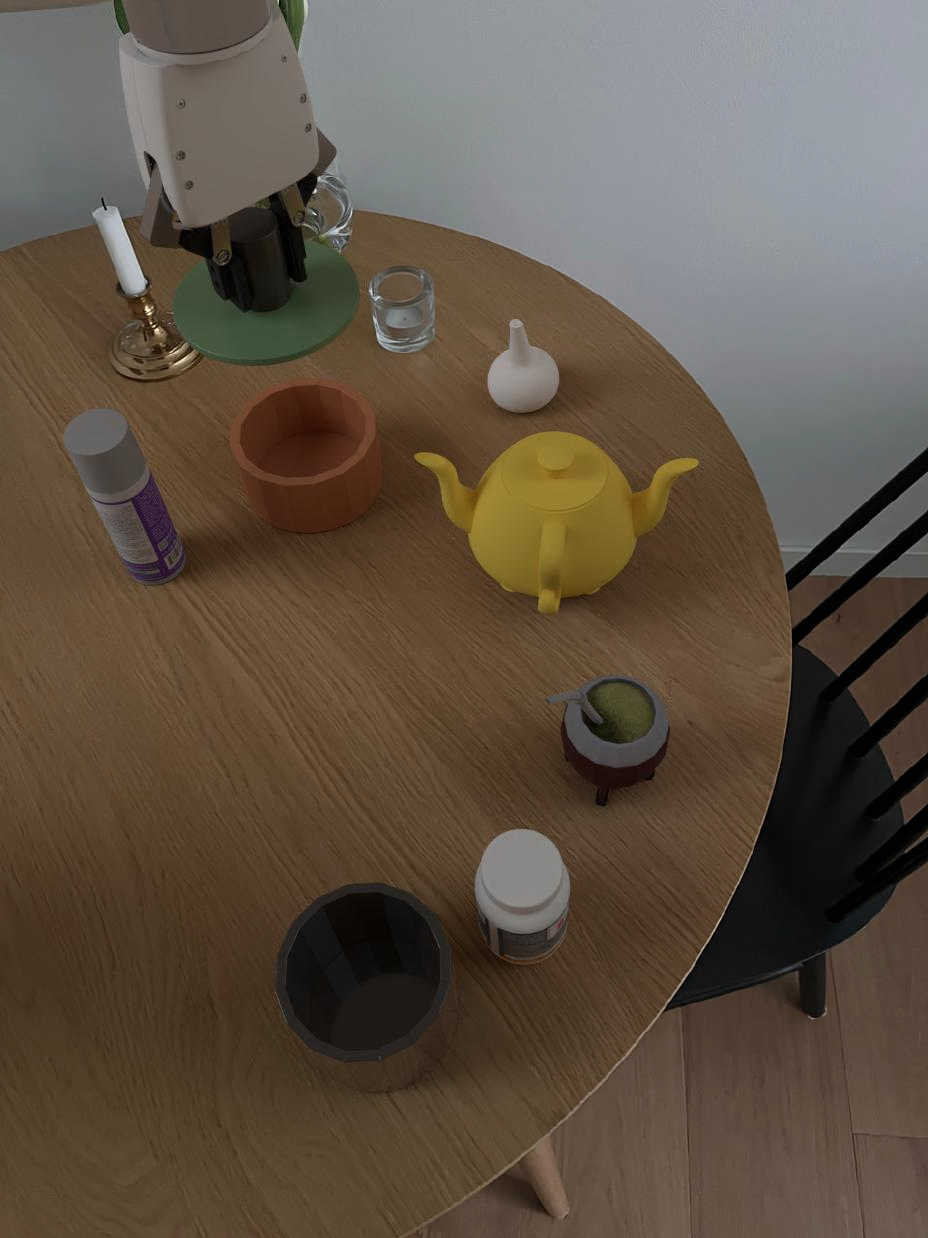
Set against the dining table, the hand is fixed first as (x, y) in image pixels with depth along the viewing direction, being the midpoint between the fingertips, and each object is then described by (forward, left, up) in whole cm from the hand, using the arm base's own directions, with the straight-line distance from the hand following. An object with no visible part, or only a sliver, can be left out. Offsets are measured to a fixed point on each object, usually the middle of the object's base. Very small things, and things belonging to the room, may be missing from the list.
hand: (263, 284), depth 71 cm
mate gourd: (+30, -16, -22) cm, 40 cm away
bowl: (-1, +2, -22) cm, 22 cm away
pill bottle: (+28, -28, -22) cm, 45 cm away
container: (-9, -10, -22) cm, 26 cm away
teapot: (+21, 0, -22) cm, 30 cm away
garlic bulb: (+13, +17, -22) cm, 30 cm away
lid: (0, 0, -1) cm, 1 cm away
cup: (+21, -36, -22) cm, 47 cm away
